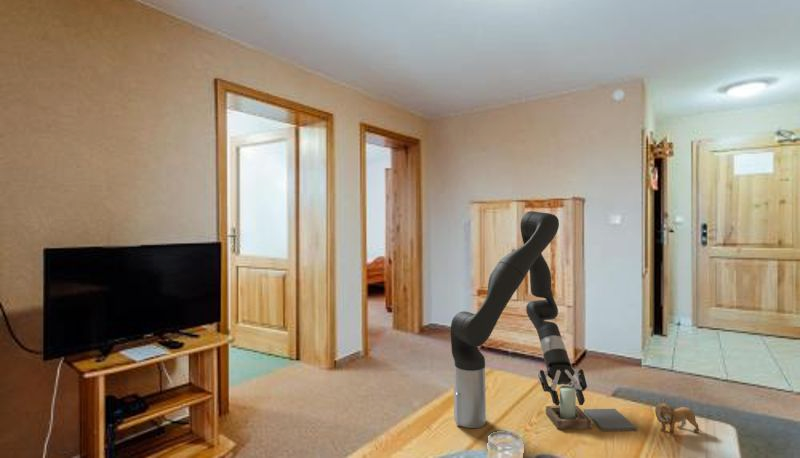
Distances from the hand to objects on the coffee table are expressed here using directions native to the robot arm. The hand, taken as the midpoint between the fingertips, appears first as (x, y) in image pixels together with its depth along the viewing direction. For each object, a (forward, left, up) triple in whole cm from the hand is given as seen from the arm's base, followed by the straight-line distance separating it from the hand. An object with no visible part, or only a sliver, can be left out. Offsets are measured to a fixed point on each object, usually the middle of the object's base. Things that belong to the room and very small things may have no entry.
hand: (569, 404), depth 124 cm
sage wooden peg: (0, +2, -6) cm, 6 cm away
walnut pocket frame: (0, +2, -6) cm, 6 cm away
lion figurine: (+28, -6, -6) cm, 29 cm away
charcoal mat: (+12, +2, -6) cm, 14 cm away
